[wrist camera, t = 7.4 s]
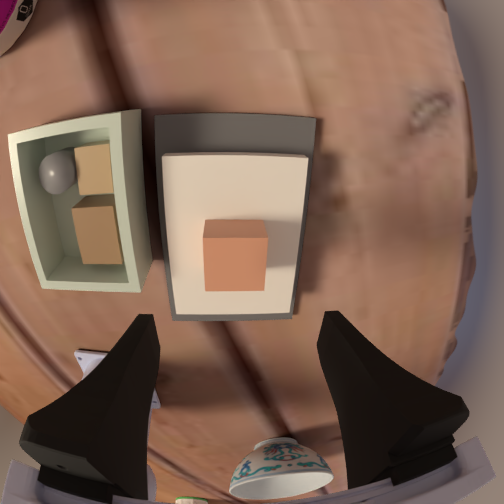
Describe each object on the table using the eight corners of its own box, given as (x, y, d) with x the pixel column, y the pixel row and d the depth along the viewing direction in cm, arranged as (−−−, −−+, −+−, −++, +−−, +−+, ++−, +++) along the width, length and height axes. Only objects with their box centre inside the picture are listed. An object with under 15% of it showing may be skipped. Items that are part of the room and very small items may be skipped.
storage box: (152, 260, 22) (140, 292, 18) (63, 260, 21) (42, 288, 17) (141, 109, 16) (120, 112, 13) (40, 125, 16) (7, 134, 12)
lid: (285, 298, 24) (295, 335, 20) (178, 299, 23) (172, 337, 19) (301, 152, 18) (320, 168, 14) (167, 151, 17) (151, 166, 14)
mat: (290, 315, 25) (291, 318, 25) (173, 316, 24) (172, 320, 24) (314, 117, 18) (316, 118, 17) (156, 115, 17) (154, 115, 16)
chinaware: (342, 426, 38) (354, 469, 31) (291, 463, 44) (297, 498, 37) (253, 419, 34) (259, 471, 27) (213, 456, 40) (214, 497, 33)
